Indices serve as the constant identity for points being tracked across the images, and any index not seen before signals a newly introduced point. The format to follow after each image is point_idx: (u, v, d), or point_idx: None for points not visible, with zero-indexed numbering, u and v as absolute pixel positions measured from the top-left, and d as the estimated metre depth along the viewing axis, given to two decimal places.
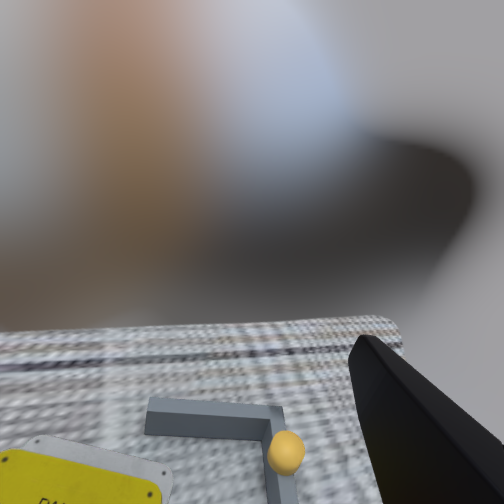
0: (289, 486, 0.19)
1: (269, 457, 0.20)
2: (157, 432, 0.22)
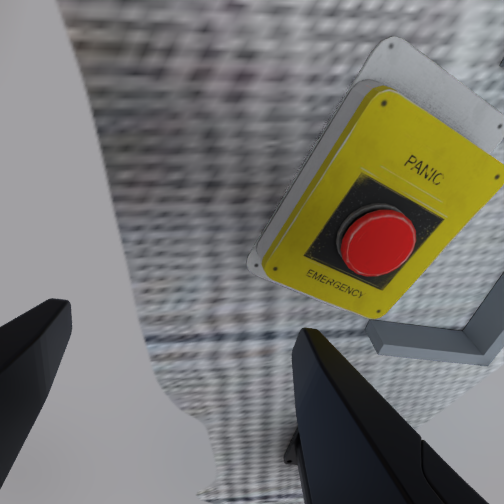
0: None
1: None
2: None
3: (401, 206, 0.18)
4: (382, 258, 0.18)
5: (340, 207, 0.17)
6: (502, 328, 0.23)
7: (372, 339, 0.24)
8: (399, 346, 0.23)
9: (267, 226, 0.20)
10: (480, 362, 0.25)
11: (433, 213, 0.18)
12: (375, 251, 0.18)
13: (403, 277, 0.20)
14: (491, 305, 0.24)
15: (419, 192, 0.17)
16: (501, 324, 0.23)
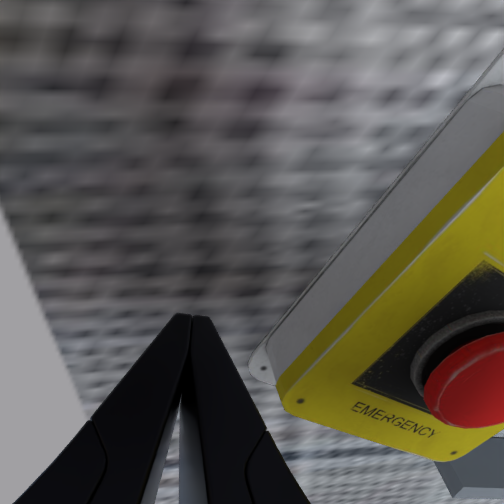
0: None
1: None
2: None
3: None
4: (496, 406, 0.10)
5: (429, 314, 0.10)
6: None
7: (440, 467, 0.17)
8: (485, 488, 0.16)
9: (287, 316, 0.12)
10: None
11: None
12: (488, 396, 0.10)
13: None
14: None
15: None
16: None
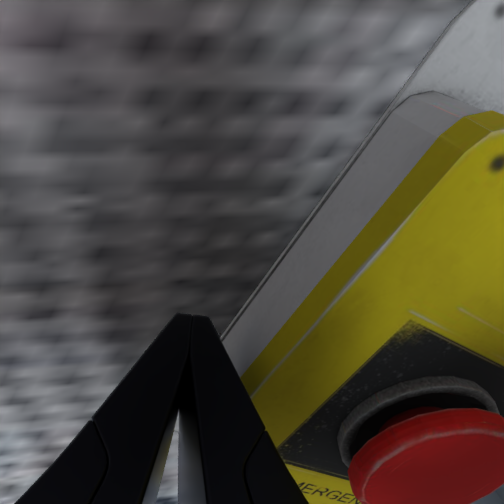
0: None
1: None
2: None
3: (488, 381, 0.08)
4: (440, 494, 0.08)
5: (350, 382, 0.07)
6: None
7: None
8: None
9: None
10: None
11: None
12: (427, 485, 0.08)
13: None
14: None
15: None
16: None
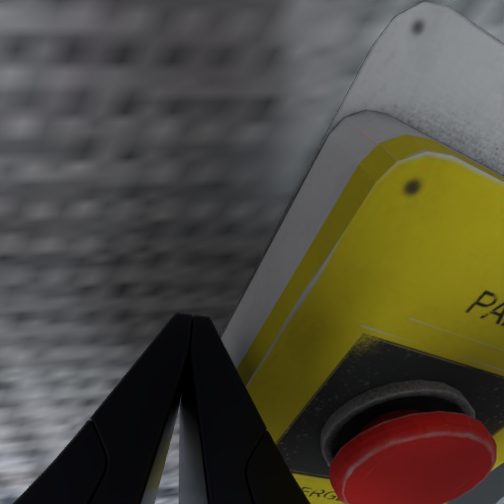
0: None
1: None
2: None
3: (457, 380, 0.08)
4: (421, 492, 0.08)
5: (320, 394, 0.08)
6: None
7: None
8: None
9: None
10: None
11: None
12: (405, 485, 0.08)
13: None
14: None
15: (498, 355, 0.08)
16: None
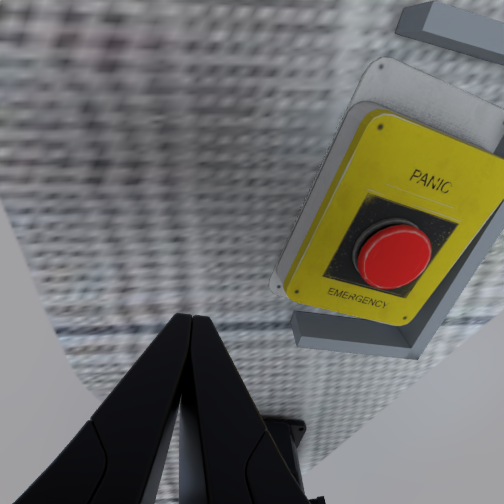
0: None
1: None
2: (414, 37, 0.16)
3: (412, 218, 0.18)
4: (400, 271, 0.18)
5: (351, 227, 0.18)
6: (427, 320, 0.22)
7: (294, 331, 0.23)
8: (318, 338, 0.22)
9: (284, 250, 0.21)
10: (409, 355, 0.24)
11: (446, 219, 0.18)
12: (392, 265, 0.18)
13: (425, 283, 0.20)
14: None
15: (428, 203, 0.18)
16: (426, 315, 0.22)
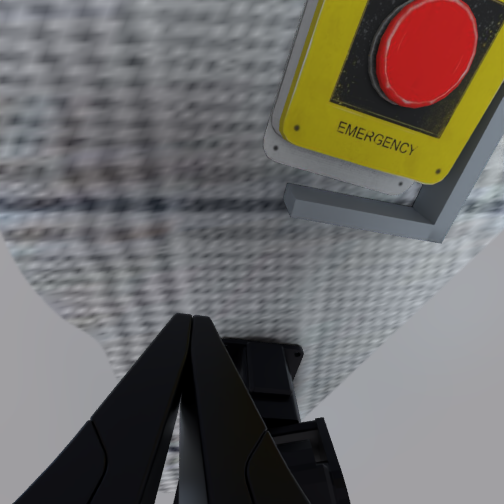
0: None
1: None
2: None
3: None
4: (434, 73, 0.13)
5: (366, 14, 0.13)
6: (456, 181, 0.17)
7: (287, 203, 0.19)
8: (317, 204, 0.17)
9: (279, 89, 0.17)
10: (431, 236, 0.19)
11: (496, 0, 0.13)
12: (423, 62, 0.13)
13: (465, 113, 0.15)
14: None
15: None
16: (455, 176, 0.18)
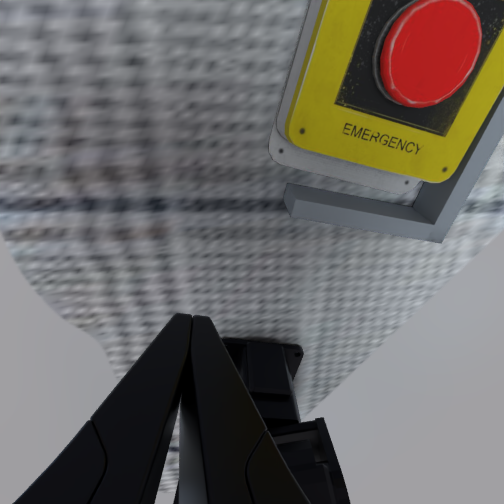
0: None
1: None
2: None
3: None
4: (439, 72, 0.13)
5: (368, 16, 0.13)
6: (456, 181, 0.17)
7: (287, 203, 0.19)
8: (317, 204, 0.17)
9: (283, 92, 0.17)
10: (431, 236, 0.19)
11: None
12: (428, 62, 0.13)
13: (470, 111, 0.15)
14: None
15: None
16: (455, 176, 0.18)
